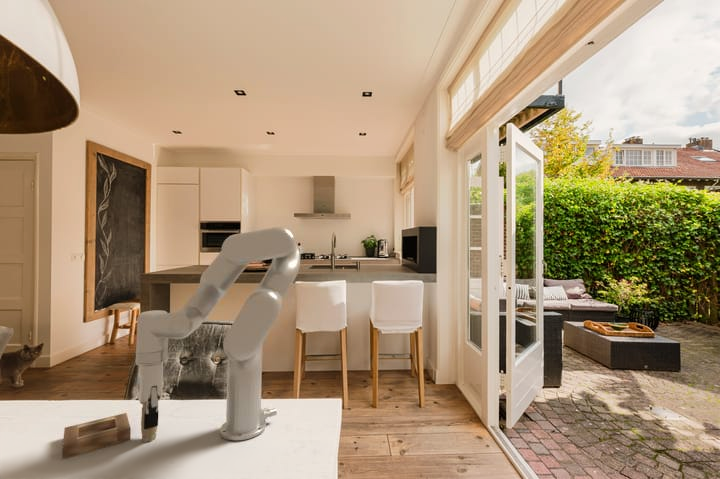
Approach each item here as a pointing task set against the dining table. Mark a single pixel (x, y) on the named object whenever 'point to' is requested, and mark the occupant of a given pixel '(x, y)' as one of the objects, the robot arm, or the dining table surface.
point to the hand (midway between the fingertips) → (149, 423)
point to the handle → (151, 432)
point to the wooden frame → (95, 435)
